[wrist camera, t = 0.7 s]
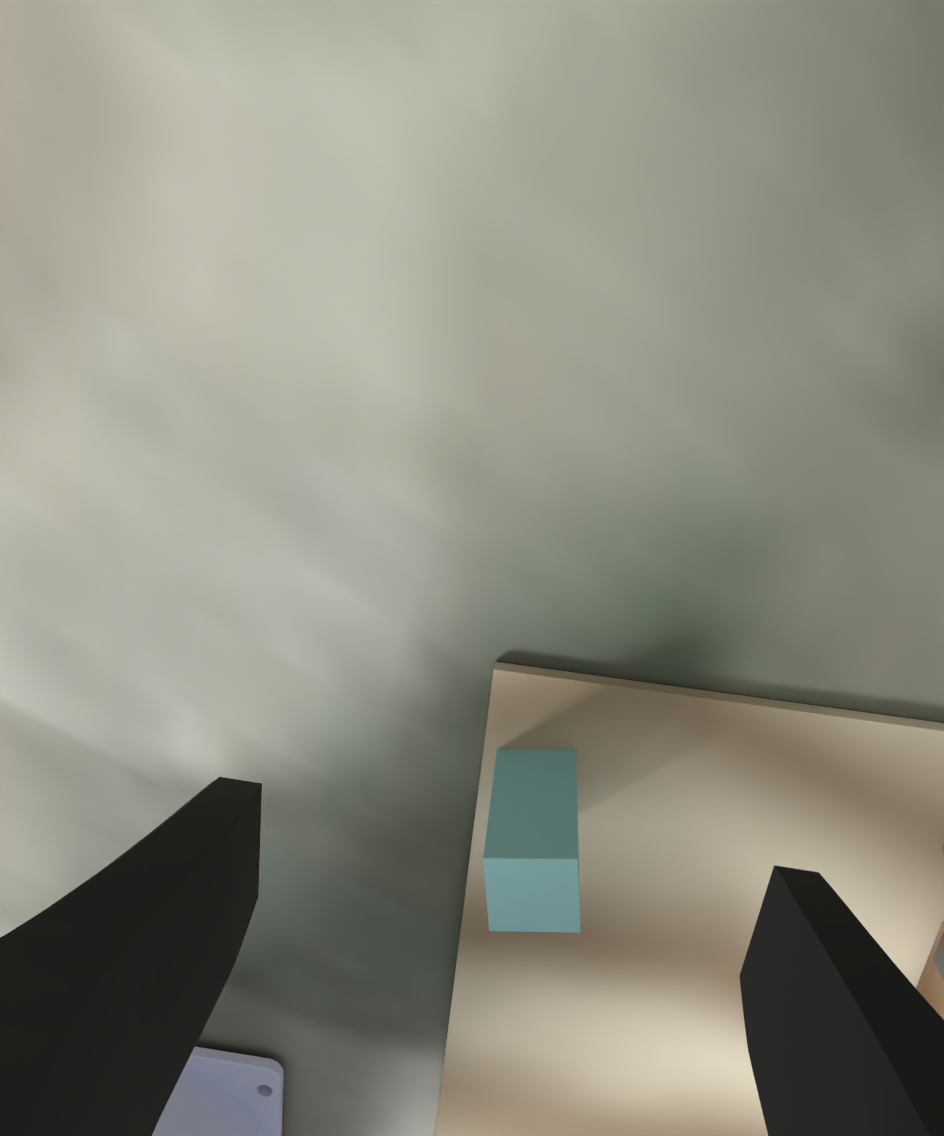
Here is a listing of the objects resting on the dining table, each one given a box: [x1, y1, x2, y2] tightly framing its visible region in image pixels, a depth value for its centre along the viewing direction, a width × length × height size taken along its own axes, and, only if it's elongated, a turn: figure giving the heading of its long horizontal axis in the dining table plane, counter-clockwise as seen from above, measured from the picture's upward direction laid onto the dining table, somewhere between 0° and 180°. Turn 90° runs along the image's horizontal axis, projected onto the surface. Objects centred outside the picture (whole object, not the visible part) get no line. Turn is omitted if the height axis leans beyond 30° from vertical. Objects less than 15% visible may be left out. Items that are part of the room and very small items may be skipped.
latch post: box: [483, 749, 580, 933], centre depth 21 cm, size 2×2×4 cm
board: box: [435, 662, 944, 1136], centre depth 25 cm, size 18×16×1 cm
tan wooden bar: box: [916, 921, 944, 1020], centre depth 23 cm, size 11×2×4 cm, turn 174°
